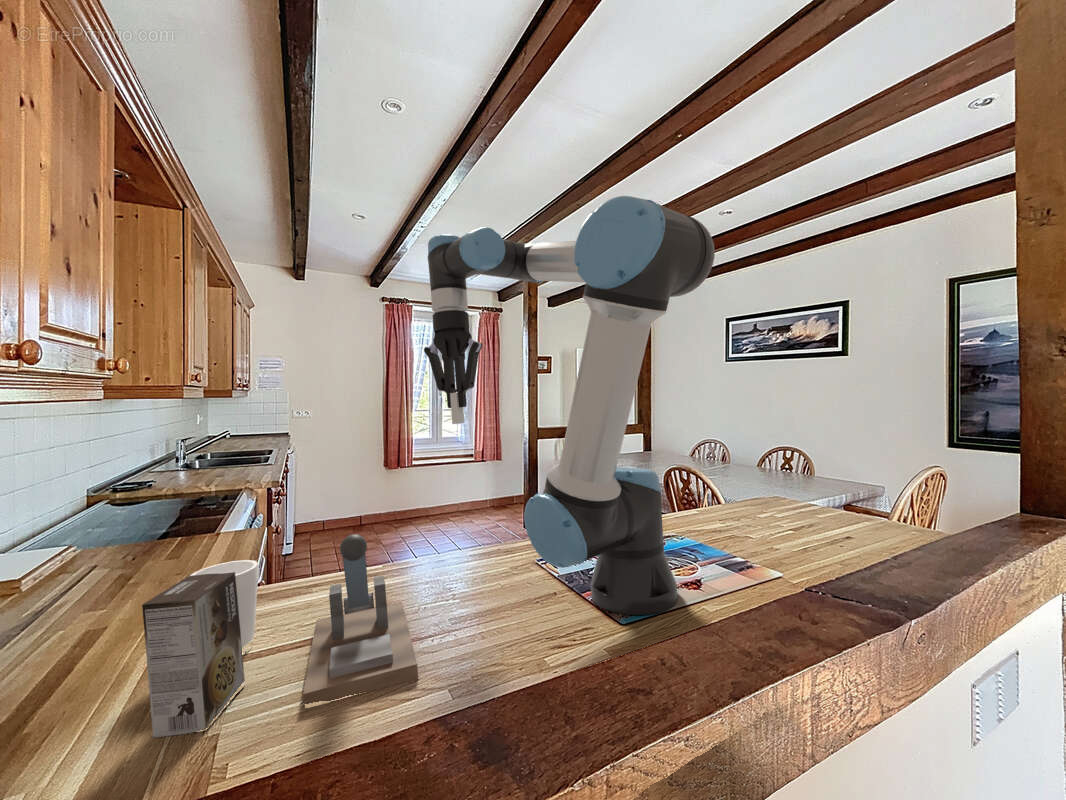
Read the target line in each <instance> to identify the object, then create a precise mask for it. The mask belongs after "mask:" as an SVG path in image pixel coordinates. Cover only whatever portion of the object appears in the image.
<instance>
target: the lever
mask: <svg viewBox="0 0 1066 800" xmlns="http://www.w3.org/2000/svg"><path fill="white" fill-rule="evenodd" d="M367 550H368V542H367V540H366V538H365V537H363V536H362V535H360V534H356V533H355V534H354V533H352V534H349V535H347V536H346V537H345V538H343V540H342V541H341V542H340V546H339V552H340V555H341V557H342V562H343V563H342V565H343V570H344V571H343V572H344V579H345V586H346V594H347V595H346V596H347V597H343V614H349V613H354V612H359V611H363V610H368V609H373V608H374V607H375V601H374V600H375V599H374V593H373V592H374V591H373V592H369V583H368V571H367V556H366V554H367V553H366V552H367Z"/></svg>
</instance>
